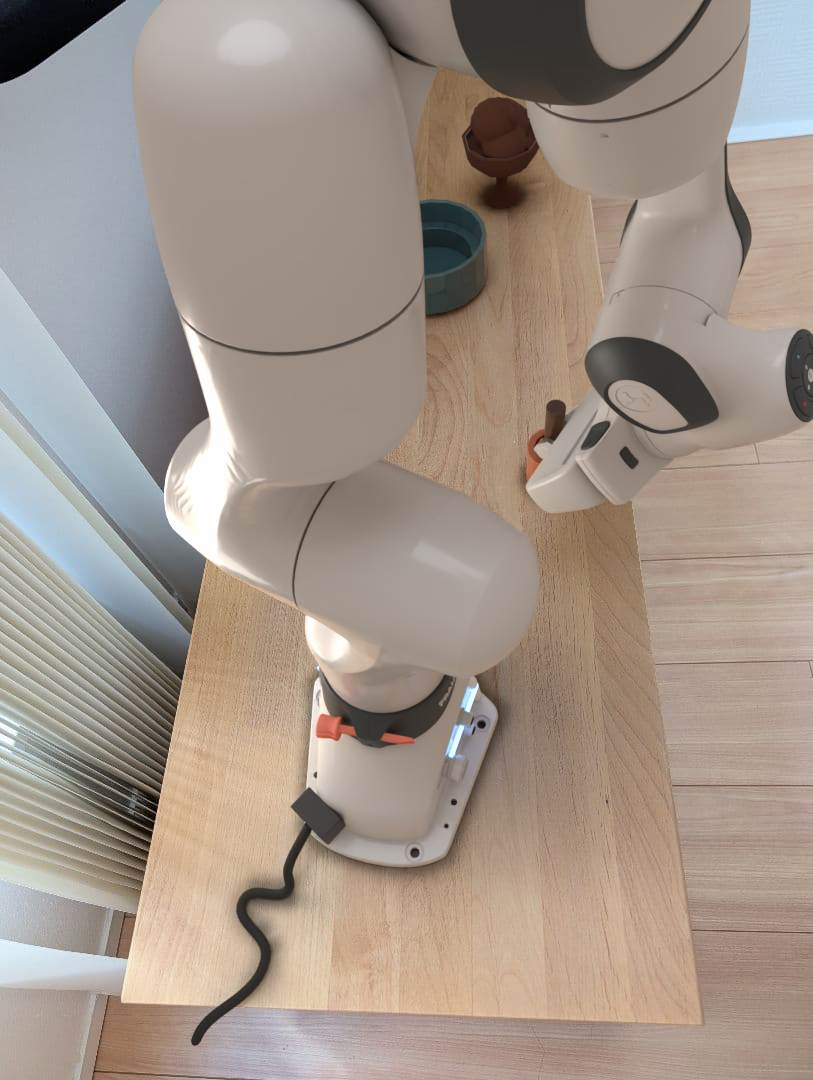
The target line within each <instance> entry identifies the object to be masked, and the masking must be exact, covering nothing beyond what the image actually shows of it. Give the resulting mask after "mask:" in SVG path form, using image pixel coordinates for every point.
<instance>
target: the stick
mask: <svg viewBox="0 0 813 1080" xmlns="http://www.w3.org/2000/svg"><path fill="white" fill-rule="evenodd" d="M566 412H567V405H566V403H565V402H564V401H563V400H560V399H551V400H549V401H548V402H547V403H546V405H545V415H544V417H545V419H544V429H545V430H544V438H545V437H550V438H552V439H553V441H555V440H556V439H557V437H558V436H559V434H560V433H561V431H562V430H563V428H564V423H565V413H566Z"/></svg>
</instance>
